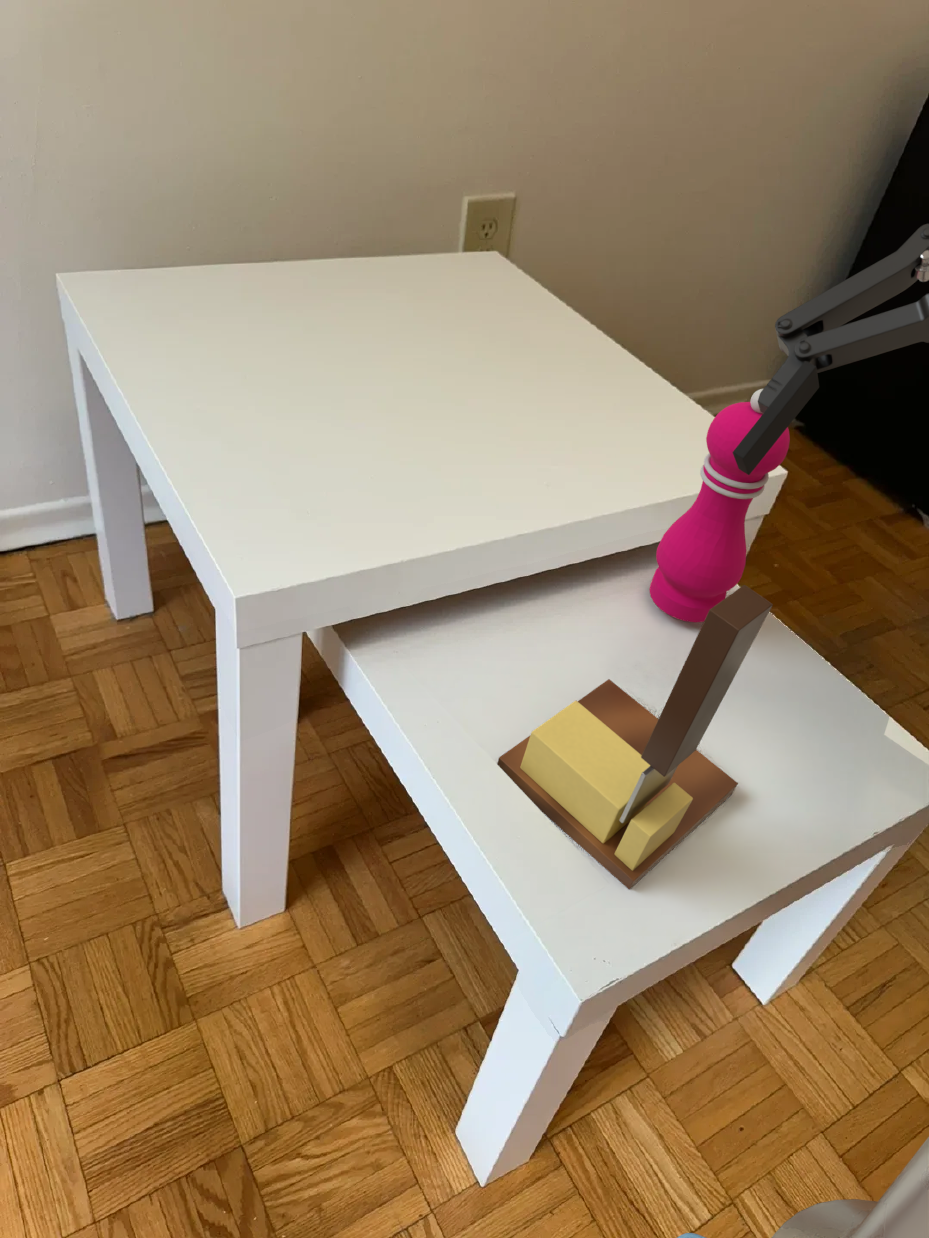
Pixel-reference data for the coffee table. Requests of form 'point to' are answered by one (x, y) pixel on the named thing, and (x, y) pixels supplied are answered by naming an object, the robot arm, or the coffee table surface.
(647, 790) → the knife
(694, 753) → the board
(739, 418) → the pepper mill
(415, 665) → the coffee table surface
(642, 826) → the butter
